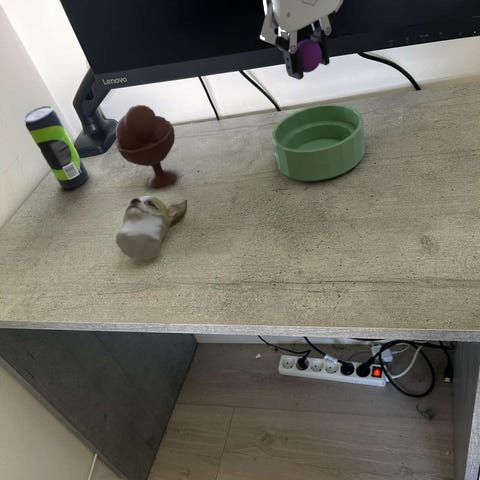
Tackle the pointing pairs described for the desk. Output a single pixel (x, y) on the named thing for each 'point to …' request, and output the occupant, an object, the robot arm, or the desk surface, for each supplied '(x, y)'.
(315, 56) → the ball
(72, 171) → the beverage can
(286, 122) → the green bowl
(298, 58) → the robot arm
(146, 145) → the ice cream bowl
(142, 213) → the ceramic sculpture
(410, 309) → the desk surface
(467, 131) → the desk surface
